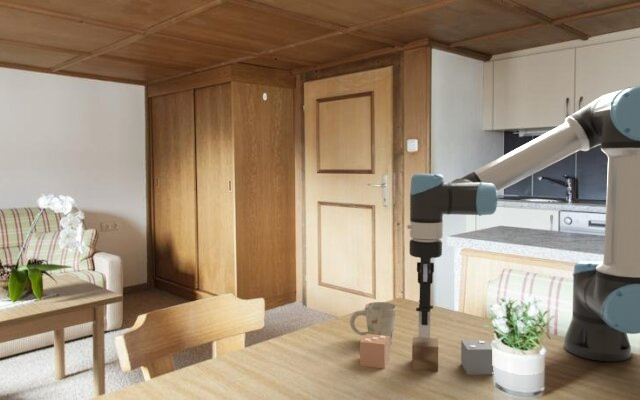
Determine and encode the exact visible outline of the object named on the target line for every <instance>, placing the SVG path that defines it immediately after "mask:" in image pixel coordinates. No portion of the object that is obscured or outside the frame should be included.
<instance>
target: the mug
mask: <svg viewBox="0 0 640 400" xmlns="http://www.w3.org/2000/svg"><path fill="white" fill-rule="evenodd" d="M396 313H397V306H396V305H395V304H394V303H390V302H385V301H376V302H374V301H373V302H369V303H366V304H365V306H364V310H357V311H355V312H353V314H351V316H350V319H349V325H350V327H351V329H352V330H353V331H354V333H356V334H357V335H361V336H365V335H366V334H374V335H384V336H390V345H391V344H392V343H393V336H394V328H395V320H396ZM359 316H363V317H364V316H365V318H366V319H365V320H366V328H367V331H362V330H361V331H360V330H359V329H358V328H357V326H356V323H355V321H356V319H357V318H358V317H359Z"/></svg>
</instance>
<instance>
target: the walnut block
mask: <svg viewBox="0 0 640 400" xmlns="http://www.w3.org/2000/svg"><path fill="white" fill-rule="evenodd" d="M438 339H439V338H438V337H430V338H421V337H418V336H413V337H412V343H411V370H412V371H424V372H425V371H426V372H437V373H438V372H439V340H438Z"/></svg>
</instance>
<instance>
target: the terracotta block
mask: <svg viewBox="0 0 640 400" xmlns="http://www.w3.org/2000/svg"><path fill="white" fill-rule="evenodd" d="M390 360H391V344H390V336H384V335H374V334H366V335H363V337H362V338H361V340H360V342H359V364H360V365H359V366H362V367H368V368H369V367H370V368H378V369H386V367H387V365H388V363H389V362H390Z"/></svg>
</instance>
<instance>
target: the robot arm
mask: <svg viewBox="0 0 640 400" xmlns="http://www.w3.org/2000/svg"><path fill="white" fill-rule="evenodd" d="M597 146H600V150H601V152H603V153H604V154H605V155H606V156H607V175H606V176H607V179H606V201H605V205H606V206H605V223H604V224H605V225H604V243H603V244H604V247H603V248H604V249H603V260H602V261H598V260H597V261H596V260H595V261H589V260H588V261H578V262H576V263H575V264H574V266H573V273H572V277H573V278H572V279H573V280H572V281H573V285H572V287H573V288H572V317H571V321H570V323H569V324H568V327H567V331H566V333H565V335H564V338H563V339H564V340H563V341H564V342H563V343H564V344H563V345H564V346H563V347H564V349H565V350H566V351H568V352H569V353H570V354H572V355H575V356H576V357H580V358H584V359H587V360H593V361H600V362H622V361H626V360H628V359H631V356H632V353H631V351H632V347H631V343H630V340H629V336H628V334H629V335H637V334H638V335H639V334H640V86H637V85H636V86H628V87H626V88H623V89H621V90H616V91H613V92H608V93H606V94H603V95H601V96H599V98H596V99H595V100H593V101H592V102H590V103H588V104H587V105H586V106H584V107H582V108H581V109H578V110H577V111H576V112H574V113H572V114H570V115H569V116H567V117H566V118H565V120H564V123H563V124H560V125H558V126H557V127H555V128H553V129H551V130H549V131H547V132H546V133H543V134H542V135H540V136H538V137H536V138H534V139H532V140H530V141H529V142H527V143H526V142H525V144H523V145H521V146H519V147H517V148H515V149H514V150H513V149H512V150H511V151H510V152H508V153H506V154H504V155H502V156H500V157H498V158H496V159H494V160H493V161H490V162H489V163H487V164H485V165H483V166H482V167H480V168H477V169H475V170H473V172H471V173H468V174H466V175H465V176H463V177H461V178H455V179H453V180H451V182H450V181H449V182H447V181H445V180H444V175H443V174H441V173H416V174H413V175H412V176H411V180H410V192H409V204H410V205H409V213H410V214H409V220H410V222H409V223H410V224H408V225H407V226H406V228H407V229H410V230H409V237H410V238H411V239H410V240H409V255H410V256H411V257H414V258H419V259H420V262H419V261H418V262H416V272H417V283H418V284H419V299H418V307H416V308H415V311H416V312H418V334H417V335H418V336H417V337H421V338H431V309H432V310H433V309H434V306H433V305H431V285H432V284H433V282H434V281H433V279H434V278H433V276H434V275H433V274H434V272H435V266H434V265H435V263H434V262H431V259H437V258H440V257H442V255H443V242H442V239H443V232H444V231H443V227H444V225H443V223H444V221H443V216H444V215H464V216H465V215H467V216H479V217H480V216H488V215H489V216H490V215H494V214H495V213H496V211H497V207H498V193H499V192H501V191H503V190H504V189H507V188H508V187H511V186H512V185H515V184H517V183H518V182H520V181H522V180H524V179H527V178H528V177H530V176H532V175H534V174H536V173H538V172H540V171H542V170H544V169H546V168H548V167H549V166H552V165H553V164H555V163H557V162H559V161H561V160H563V159H565V158H567V157H569V156H571V155H572V154H575V153H576V152H579V151H583V152H587V151H589V150H591V149H593V148H595V147H597Z"/></svg>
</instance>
